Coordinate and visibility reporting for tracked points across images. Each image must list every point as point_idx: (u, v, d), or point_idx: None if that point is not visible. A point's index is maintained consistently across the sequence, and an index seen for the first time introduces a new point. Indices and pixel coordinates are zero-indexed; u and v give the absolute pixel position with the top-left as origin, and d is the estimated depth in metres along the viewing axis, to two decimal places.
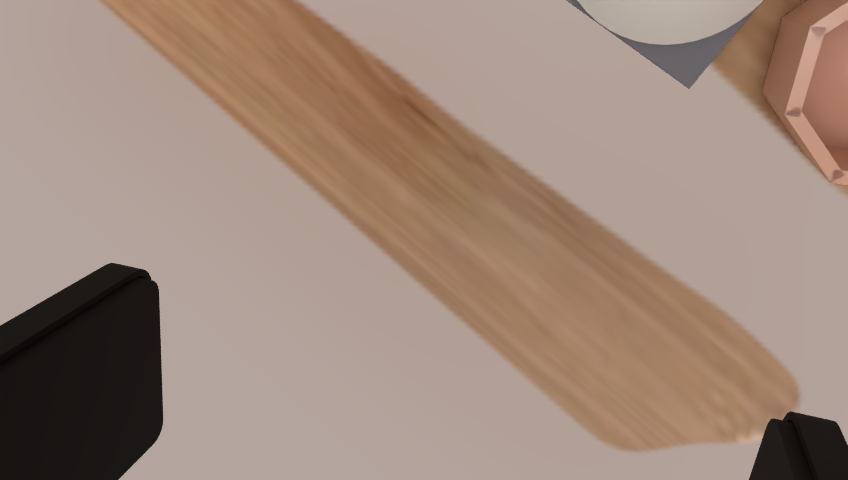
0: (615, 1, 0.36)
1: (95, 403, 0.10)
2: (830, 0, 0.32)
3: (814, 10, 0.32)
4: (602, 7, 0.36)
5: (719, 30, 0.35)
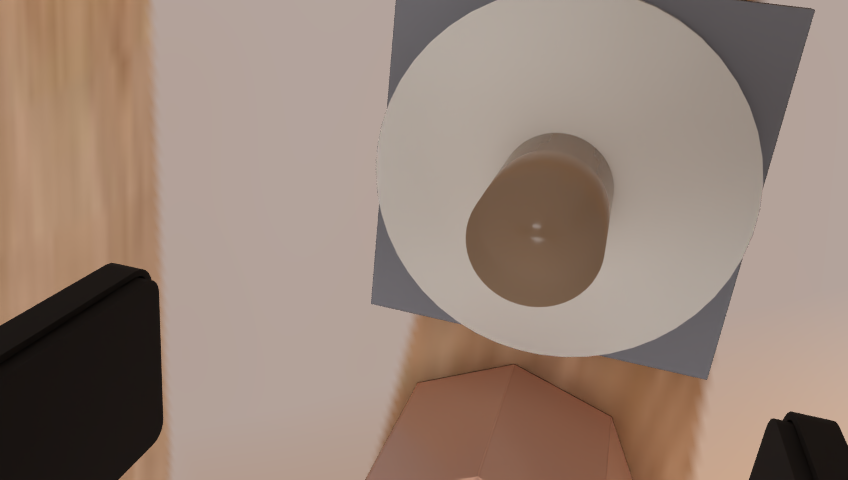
0: (416, 159, 0.22)
1: (95, 403, 0.10)
2: (539, 447, 0.22)
3: (519, 435, 0.22)
4: (399, 144, 0.22)
5: (451, 314, 0.23)
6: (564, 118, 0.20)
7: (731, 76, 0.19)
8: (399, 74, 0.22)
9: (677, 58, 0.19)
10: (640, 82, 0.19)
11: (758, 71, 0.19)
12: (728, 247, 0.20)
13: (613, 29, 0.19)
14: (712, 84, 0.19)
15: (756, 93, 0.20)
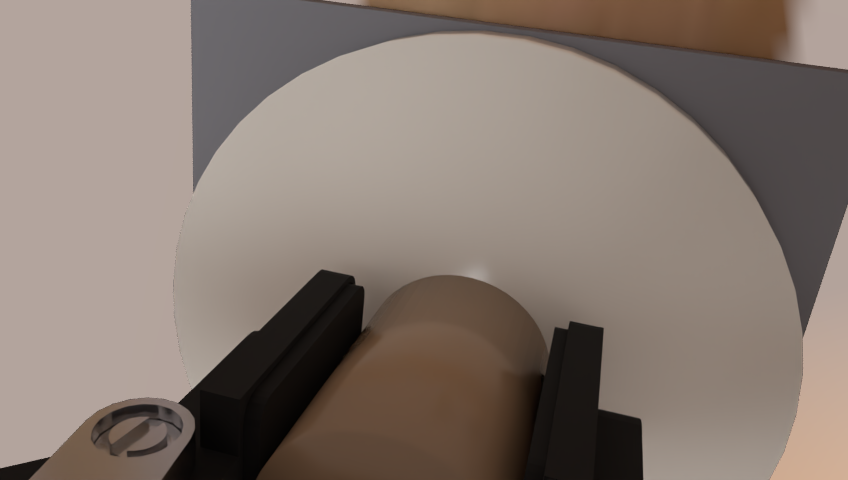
0: (233, 305, 0.13)
1: None
2: None
3: None
4: (205, 282, 0.13)
5: None
6: (464, 253, 0.12)
7: (749, 195, 0.11)
8: None
9: (654, 161, 0.11)
10: (589, 200, 0.11)
11: (788, 180, 0.11)
12: (742, 469, 0.12)
13: (542, 109, 0.11)
14: (715, 208, 0.11)
15: (784, 215, 0.12)
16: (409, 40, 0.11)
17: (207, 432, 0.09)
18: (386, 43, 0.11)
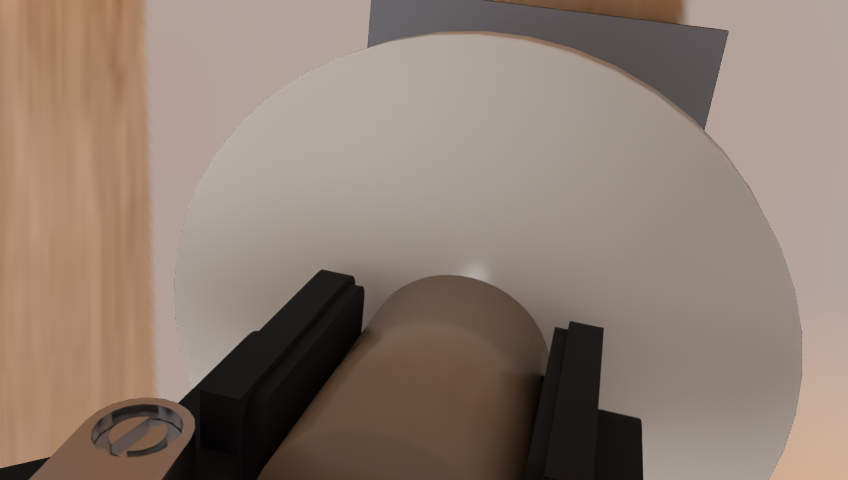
0: (234, 305, 0.14)
1: None
2: None
3: None
4: (206, 282, 0.13)
5: None
6: (464, 253, 0.12)
7: (748, 195, 0.11)
8: None
9: (653, 162, 0.11)
10: (589, 200, 0.11)
11: (683, 83, 0.23)
12: (741, 468, 0.12)
13: (542, 109, 0.11)
14: (715, 208, 0.11)
15: (682, 102, 0.23)
16: (409, 41, 0.11)
17: (207, 432, 0.09)
18: (386, 44, 0.11)
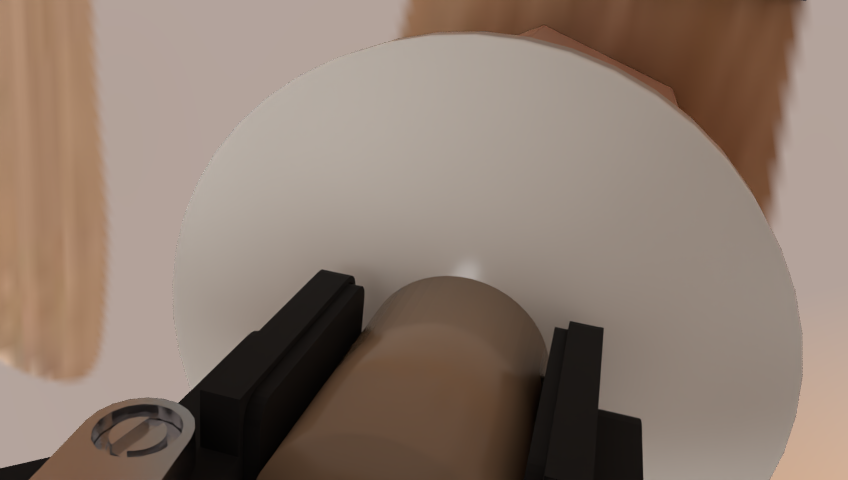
0: (233, 306, 0.13)
1: None
2: None
3: None
4: (205, 283, 0.13)
5: None
6: (463, 254, 0.12)
7: (749, 196, 0.11)
8: None
9: (653, 162, 0.11)
10: (589, 200, 0.11)
11: None
12: (742, 469, 0.12)
13: (542, 110, 0.11)
14: (715, 208, 0.11)
15: None
16: (409, 41, 0.11)
17: (207, 432, 0.09)
18: (386, 44, 0.11)
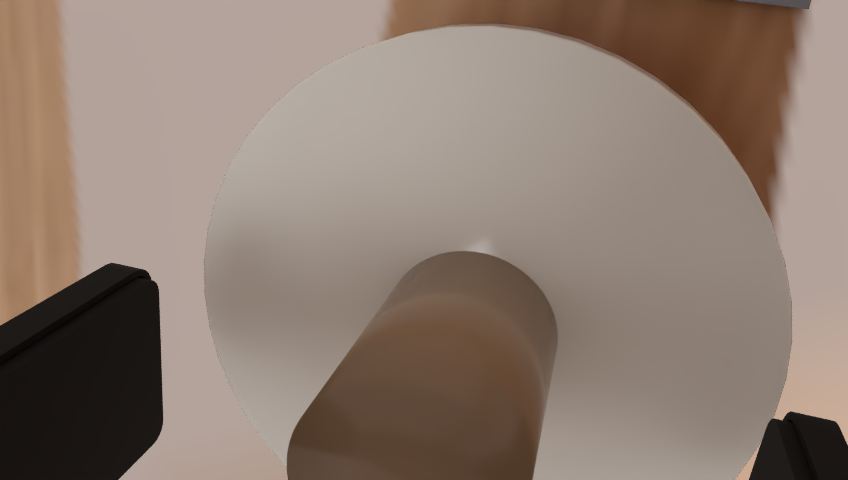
0: (261, 281, 0.14)
1: (95, 403, 0.10)
2: None
3: None
4: (235, 259, 0.14)
5: None
6: (477, 230, 0.13)
7: (742, 174, 0.11)
8: None
9: (654, 143, 0.12)
10: (594, 179, 0.12)
11: None
12: (736, 431, 0.13)
13: (551, 95, 0.12)
14: (711, 185, 0.12)
15: None
16: (428, 32, 0.12)
17: None
18: (407, 35, 0.12)
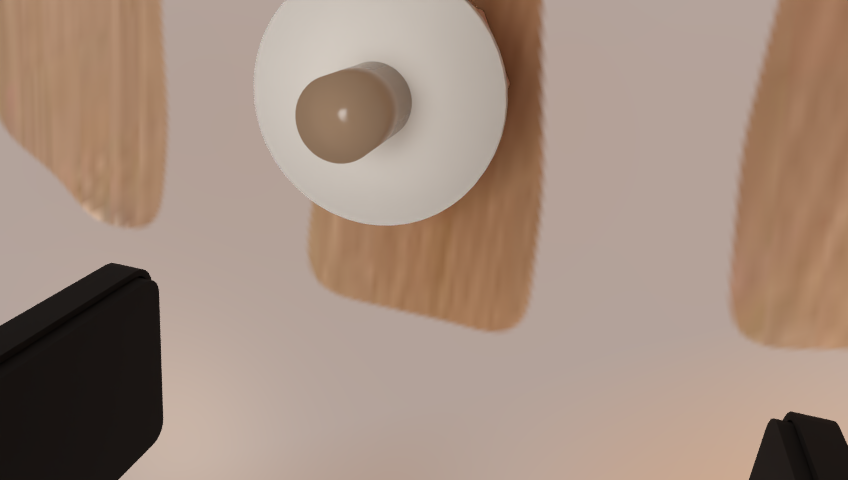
0: (280, 86, 0.31)
1: (95, 403, 0.10)
2: None
3: None
4: (268, 77, 0.31)
5: (313, 200, 0.33)
6: (374, 51, 0.30)
7: (474, 16, 0.29)
8: None
9: (440, 5, 0.29)
10: (419, 23, 0.29)
11: None
12: (489, 134, 0.30)
13: None
14: (464, 22, 0.29)
15: None
16: None
17: None
18: None
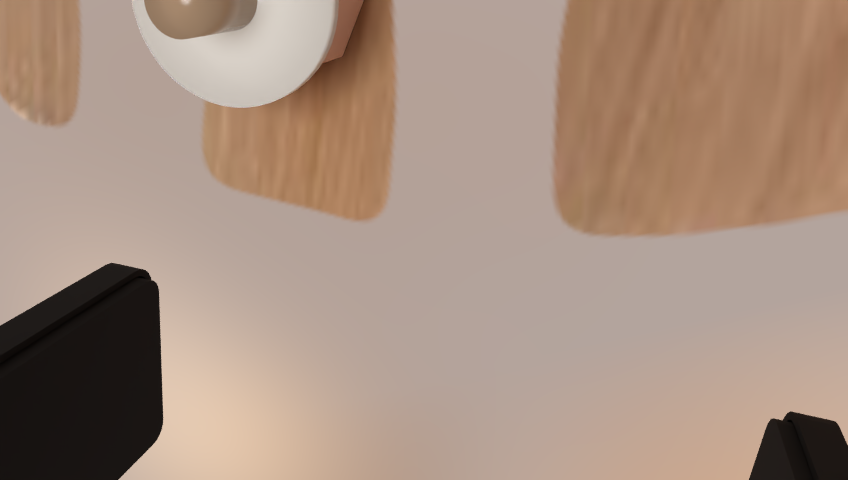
0: None
1: (95, 403, 0.10)
2: None
3: None
4: None
5: (182, 85, 0.39)
6: None
7: None
8: None
9: None
10: None
11: None
12: (320, 26, 0.36)
13: None
14: None
15: None
16: None
17: None
18: None
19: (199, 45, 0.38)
